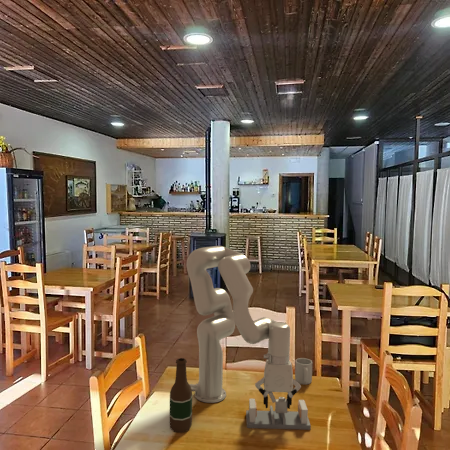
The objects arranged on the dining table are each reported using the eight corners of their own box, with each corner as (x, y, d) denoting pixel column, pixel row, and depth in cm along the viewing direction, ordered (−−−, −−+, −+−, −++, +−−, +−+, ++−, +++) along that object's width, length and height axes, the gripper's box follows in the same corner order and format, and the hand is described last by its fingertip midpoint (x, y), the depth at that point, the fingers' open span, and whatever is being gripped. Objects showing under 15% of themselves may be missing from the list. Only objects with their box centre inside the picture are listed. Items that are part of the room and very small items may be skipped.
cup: (309, 377, 182) (310, 358, 181) (314, 387, 172) (315, 367, 171) (293, 377, 182) (294, 357, 181) (297, 387, 172) (298, 367, 171)
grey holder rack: (247, 427, 141) (247, 409, 140) (246, 414, 150) (246, 397, 149) (310, 429, 140) (311, 411, 140) (305, 415, 149) (306, 398, 149)
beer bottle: (182, 436, 135) (183, 365, 134) (164, 428, 139) (165, 360, 138) (196, 425, 142) (197, 358, 140) (179, 418, 146) (179, 353, 144)
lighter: (286, 410, 146) (287, 389, 145) (287, 413, 144) (288, 391, 144) (266, 410, 146) (267, 389, 145) (267, 413, 144) (268, 391, 143)
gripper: (254, 361, 140) (253, 411, 141) (305, 363, 140) (303, 412, 141) (253, 353, 147) (252, 400, 149) (301, 354, 147) (300, 402, 148)
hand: (277, 406), depth 145 cm, fingers closed on lighter, 7 cm apart
